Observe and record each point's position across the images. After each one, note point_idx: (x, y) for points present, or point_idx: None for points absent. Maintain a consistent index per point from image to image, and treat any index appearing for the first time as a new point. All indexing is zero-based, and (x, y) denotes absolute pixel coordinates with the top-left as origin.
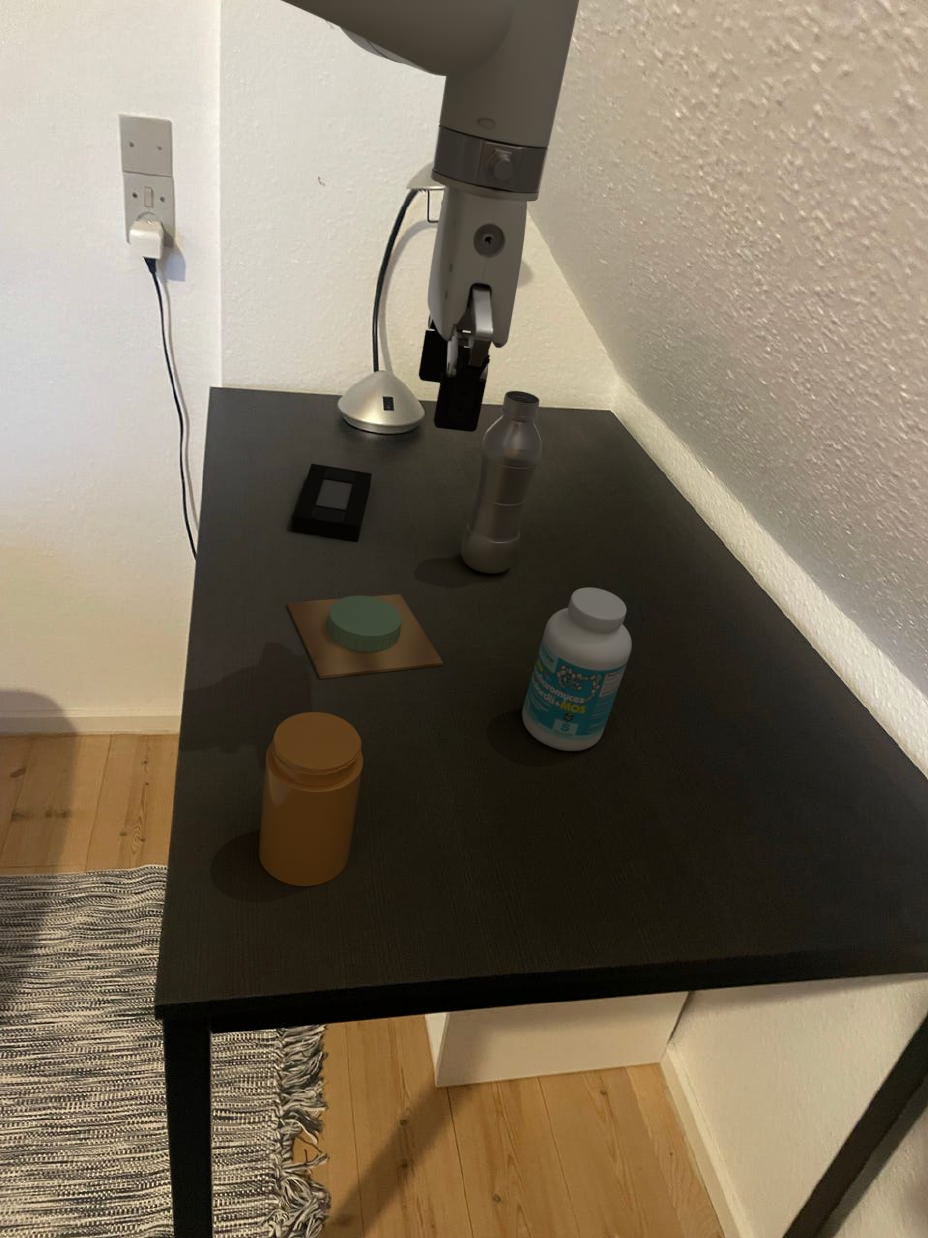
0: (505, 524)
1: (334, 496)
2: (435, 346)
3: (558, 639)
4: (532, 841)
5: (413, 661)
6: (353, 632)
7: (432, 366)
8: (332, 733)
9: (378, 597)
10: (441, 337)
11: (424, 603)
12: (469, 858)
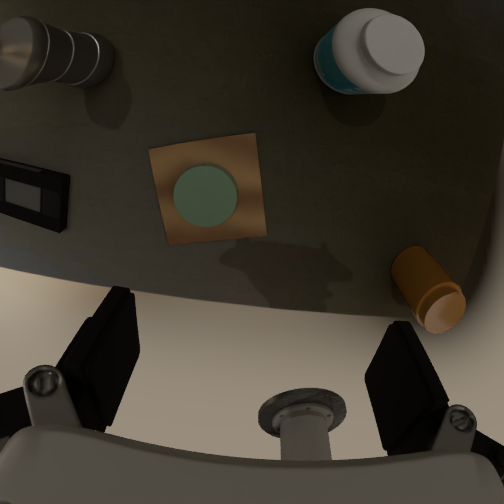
0: (87, 50)
1: (24, 195)
2: (113, 395)
3: (393, 90)
4: (441, 140)
5: (252, 158)
6: (231, 212)
7: (129, 360)
8: (445, 306)
9: (154, 170)
10: (104, 408)
11: (157, 127)
12: (442, 183)
